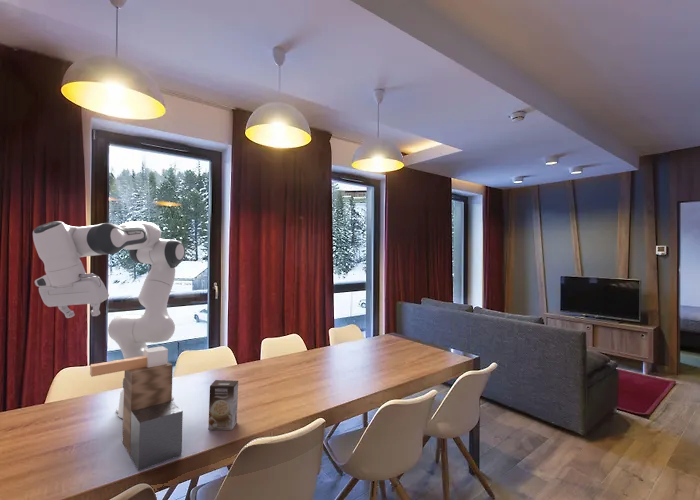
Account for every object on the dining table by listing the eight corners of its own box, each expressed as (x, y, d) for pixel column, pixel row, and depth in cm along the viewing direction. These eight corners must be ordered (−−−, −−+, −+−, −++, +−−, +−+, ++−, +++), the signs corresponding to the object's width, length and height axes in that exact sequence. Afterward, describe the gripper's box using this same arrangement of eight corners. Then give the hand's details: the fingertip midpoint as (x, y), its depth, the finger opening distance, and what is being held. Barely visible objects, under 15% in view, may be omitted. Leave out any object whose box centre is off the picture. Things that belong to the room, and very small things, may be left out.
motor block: (138, 471, 101) (139, 422, 101) (129, 455, 109) (131, 411, 109) (181, 455, 109) (182, 410, 110) (170, 442, 117) (172, 400, 117)
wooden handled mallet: (92, 377, 104) (92, 361, 104) (89, 373, 109) (89, 357, 109) (167, 364, 119) (167, 349, 119) (162, 360, 123) (162, 346, 123)
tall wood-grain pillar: (129, 455, 109) (132, 372, 110) (122, 442, 117) (124, 364, 117) (170, 441, 117) (172, 364, 118) (161, 430, 125) (163, 358, 126)
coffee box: (207, 430, 126) (208, 385, 126) (213, 421, 132) (214, 379, 132) (232, 430, 126) (233, 386, 126) (237, 421, 132) (238, 379, 133)
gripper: (105, 269, 106) (120, 309, 110) (49, 274, 109) (65, 313, 113) (88, 276, 100) (104, 319, 104) (29, 282, 103) (47, 322, 107)
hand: (83, 316), depth 108 cm, fingers open, 8 cm apart
